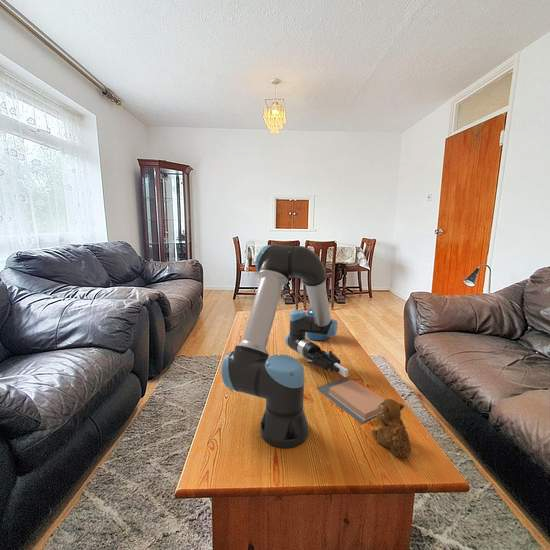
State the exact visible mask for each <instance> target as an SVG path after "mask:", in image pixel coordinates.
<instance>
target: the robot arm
mask: <svg viewBox="0 0 550 550" xmlns="http://www.w3.org/2000/svg"><path fill="white" fill-rule="evenodd" d="M255 257H256V258H255V270H256V272H257V277H258V278H259V279H260V280H259V283H258V286H257V290H256V292H255V297H254V299H253V302H252V306H251V309H250V312H249V316H248V320H247V323H246V326H245V329H244V331H243V336H242V340H241V341H240V342H238V343H237V344H235V347H234V350H231V351H229V352H227V353H226V355H225V356H224V358H223V361H222V364H221V373H220V374H221V378H222V379H221V380H222V383H223V384H224V386H225V387H226V388H228V389H230V390H233V391H235V392H237V393H239V392H240V393H244V394H247V395H251V396H254V397H258V398H261V399H265V409H264V411H263V412H264V413H263V415H262V418H261V420H260V428H259V429H260V430H259V431H260V432H259V433H260V436H261V437H262V439H263V441H265V442H266V443H267V444H268V445H270V446H272V447H275V448H279V449H280V448H281V449H291V448H295V447H298V446H300V445H302V444H303V443H304V442H305V441H306V440H307V439H308V436H309V423H308V419H307V416H306V412H305V409H304V398H305V397H304V392H305V374H304V373H305V371H304V366H303V365H302V363H301V361H299V360H298V359H297V358H295V357H293V356H291V355H287V354H272V355H270V354H269V351H268V349H267V345H268V342H269V340H270V339H269V338H270V335H271V331H272V329H273V328H272V327H273V323H274V321H275V315H276V312H277V308H278V305H279V301H280V297H281V293H282V290H283V286H285V285H287V284H288V283H289V279H290V278H299V279H301V283H302V284H303V285H305V289H306V293H307V296H308V301H309V305H310V308H311V310H312V314H313V317H311V316H307V311H304V310H303V309H294V310H291V311H290V313H289V332H288V333H287V334H286V336H285V340H284V341H285V344H286V346H288V347H289V348H290V350H293V351H295V352H297V353H298V355H299V354H300V355H301V356H302V357H304V358H306V359H307V363H308V364H311V365H314V366H316V367H318V368H320V369H323V370H325V371H329V370H330V372H336V373H337V374H339V375H340V376H343V378H348V377H349V368H346V367H344V365H342V364H341V359H339V357H337V356H336V355H335V354H334V353H333V351H331V350H329V351H328V352H326V351H325V350H322V348H321V347H320V346H319V345H318V344H317V343H314V342H313V341H311V340H310V339H308V338H307V337H306V332H307V333H314V334H319V335H325V336H329V337H335V336H337V332H338V321H337V320H335V319H333V318H332V316H331V310H330V304H329V299H328V293H327V287H326V280H327V270H326V267H325V266H324V263H323V262H322V260H321V259H320V258H319V256H318V255H317V254H316V253H315V252H314V251H313V250H311V249H310V248H307V247H306V246H303V245H280V244H279V245H277V244H268V245H264V246H263V247H261V248H260V249H259V251H258V252H257V254H256V256H255Z"/></svg>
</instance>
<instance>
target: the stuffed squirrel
mask: <svg viewBox="0 0 550 550" xmlns="http://www.w3.org/2000/svg"><path fill="white" fill-rule="evenodd" d="M381 405H382V409H383V415H382V414H377V416H376V420H377V422H378V423H379V425H380V426H381V427H379V428H377V429H372V430H371V435H372V436H373V438H374V440H375V441H376V443H378V445H380V446H383V447H384V448H386V449H387V448H388V449H390V453H391V454H393V456H395V457H399V458H408V457H409V456H410V455H411V456H412V451H411V450H412V445H411V442H410V440H409V434H408V431H407V427H406V426H405V423H404V422H403V420H402V417H401V416H402V412H401V411H402V410H403V409H404V408H405V407H406V405H405V404H403V403H399V402H398V401H397V400H395V399H392V398H386V399H384V401H383V403H381V404H380V406H381ZM378 407H379V406H378ZM378 407H377V408H378ZM379 409H380V407H379Z"/></svg>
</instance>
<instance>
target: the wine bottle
mask: <svg viewBox="0 0 550 550" xmlns="http://www.w3.org/2000/svg"><path fill="white" fill-rule="evenodd" d="M306 316H311V317H313V314H312V310H311V307H309V308H308V309H307V311H306ZM305 337H306V338H307V339H308V340H312V341H317V342H320V341H321V342H322V341H326V340H328V339H329V337H330V336H325V335H319V334H314V333H307V332H306V334H305Z"/></svg>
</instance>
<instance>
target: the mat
mask: <svg viewBox="0 0 550 550" xmlns="http://www.w3.org/2000/svg"><path fill="white" fill-rule="evenodd" d="M349 380H350V379H348V377H343V378H340V379H336V380H335V381H332V382H329V383H326V384H323V385H320V386H317V387H315V389H316V390H317V391H319V392H320V393H321V394H323V395H324V396H325V397H326V398H328V399H329V400H330V401H331V402H333V403H334V404H335V405H336V406H338V407H339V408H340V409H342V410H343V411H344V412H345V413H347V414H348V415H349V416H350V417H352V418H353V419H354V420H356V421H357V422H358V423H359V424H361V425H363V424H366V423H367V422H369V421H372V420H374V419H375V418H376V417H377V415H376V416H374V417H372V418H370V419H368V420H365V421H364V420H363V419H361V418H360V417H359V416H358V415H356V414H355V413H354V412H352V411H351V410H350V409H348V408H347V407H346V406H344V405H343V404H342V403H340V402H339V401H338V400H336V399H335V398H334V397H333V396H331V395H330V394H329V387H332V386H335V385H338V384H341V383H344V382H346V381H349ZM381 414H382V415H383V416H384V414H383V413H381ZM376 419H377V418H376Z"/></svg>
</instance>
